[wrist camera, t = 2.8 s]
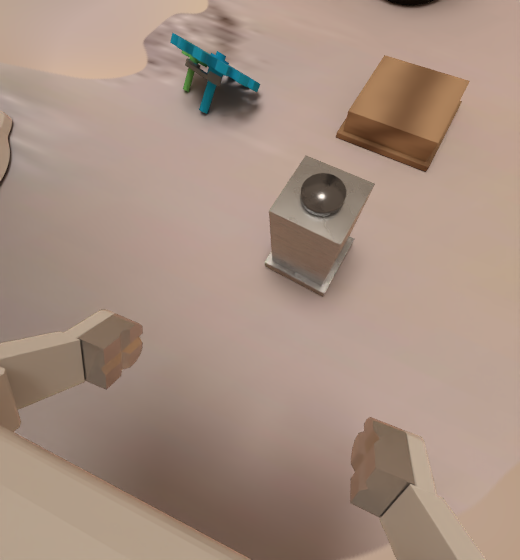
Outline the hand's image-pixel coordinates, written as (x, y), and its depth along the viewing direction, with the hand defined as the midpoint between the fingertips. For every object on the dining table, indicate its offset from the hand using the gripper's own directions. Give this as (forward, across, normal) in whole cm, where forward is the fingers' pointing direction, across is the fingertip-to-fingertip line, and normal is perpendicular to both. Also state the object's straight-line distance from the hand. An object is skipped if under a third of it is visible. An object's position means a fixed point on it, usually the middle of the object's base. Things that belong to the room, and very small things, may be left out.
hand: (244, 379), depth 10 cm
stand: (+32, -4, -11) cm, 34 cm away
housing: (+19, 0, +2) cm, 19 cm away
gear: (+31, +16, -10) cm, 36 cm away
